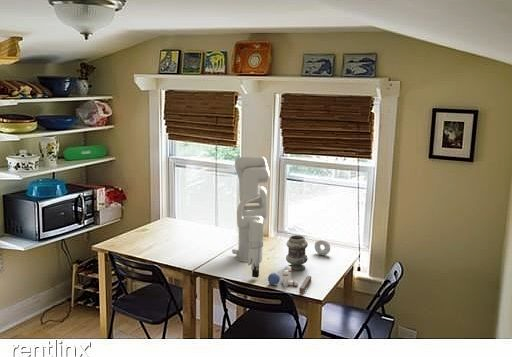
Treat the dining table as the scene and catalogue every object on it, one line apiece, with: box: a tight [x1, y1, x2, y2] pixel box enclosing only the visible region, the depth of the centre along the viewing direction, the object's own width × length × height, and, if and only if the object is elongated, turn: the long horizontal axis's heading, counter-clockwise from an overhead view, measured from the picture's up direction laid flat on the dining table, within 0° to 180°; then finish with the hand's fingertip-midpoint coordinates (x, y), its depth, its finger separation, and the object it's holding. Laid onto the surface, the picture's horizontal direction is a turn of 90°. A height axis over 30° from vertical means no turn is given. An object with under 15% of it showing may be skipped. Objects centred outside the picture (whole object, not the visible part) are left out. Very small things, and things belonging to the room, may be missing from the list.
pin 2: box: [285, 265, 292, 281], centre depth 255 cm, size 2×2×8 cm
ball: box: [267, 272, 281, 286], centre depth 252 cm, size 6×6×6 cm
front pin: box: [280, 278, 299, 287], centre depth 252 cm, size 2×2×8 cm
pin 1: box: [282, 269, 289, 288], centre depth 250 cm, size 2×2×8 cm
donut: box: [314, 238, 331, 256], centre depth 294 cm, size 10×4×10 cm, turn 57°
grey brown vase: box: [285, 234, 309, 272], centre depth 273 cm, size 12×12×18 cm
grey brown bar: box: [298, 275, 312, 295], centre depth 250 cm, size 2×16×3 cm, turn 160°
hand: (255, 276), depth 259 cm, fingers closed
